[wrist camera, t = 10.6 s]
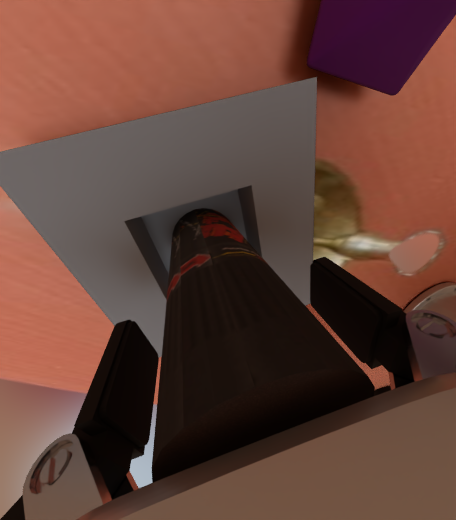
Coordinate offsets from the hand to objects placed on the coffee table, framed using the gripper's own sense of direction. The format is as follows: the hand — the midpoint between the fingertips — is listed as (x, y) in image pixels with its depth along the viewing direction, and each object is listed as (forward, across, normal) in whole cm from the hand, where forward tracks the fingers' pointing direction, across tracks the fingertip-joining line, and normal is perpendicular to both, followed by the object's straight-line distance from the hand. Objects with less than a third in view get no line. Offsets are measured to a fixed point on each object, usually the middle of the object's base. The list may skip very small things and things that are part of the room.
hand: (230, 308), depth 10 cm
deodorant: (+10, 0, 0) cm, 10 cm away
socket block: (+10, +1, 0) cm, 10 cm away
